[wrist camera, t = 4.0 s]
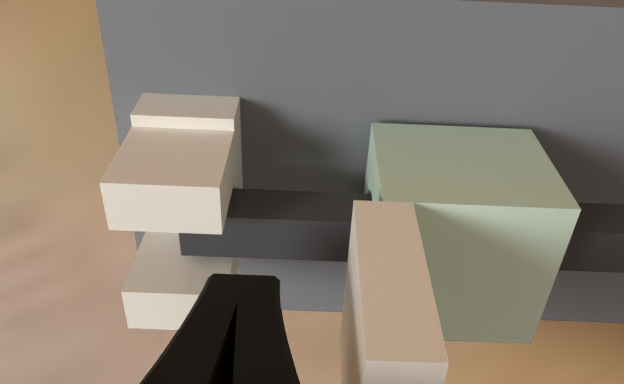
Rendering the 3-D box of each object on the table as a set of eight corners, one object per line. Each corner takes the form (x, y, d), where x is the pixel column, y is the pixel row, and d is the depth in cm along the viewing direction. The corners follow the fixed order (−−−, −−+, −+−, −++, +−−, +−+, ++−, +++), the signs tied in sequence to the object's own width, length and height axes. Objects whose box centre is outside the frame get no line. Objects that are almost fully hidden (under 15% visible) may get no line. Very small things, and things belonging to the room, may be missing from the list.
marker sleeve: (531, 129, 15) (683, 372, 8) (495, 251, 17) (595, 513, 11) (347, 121, 14) (366, 360, 8) (337, 245, 17) (345, 504, 11)
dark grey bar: (986, 218, 15) (1035, 250, 14) (954, 255, 15) (999, 287, 14) (186, 186, 14) (176, 215, 13) (190, 224, 15) (181, 255, 14)
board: (1101, 17, 14) (1389, 100, 10) (863, 310, 20) (992, 433, 16) (106, -28, 14) (25, 40, 10) (154, 282, 19) (113, 401, 16)
